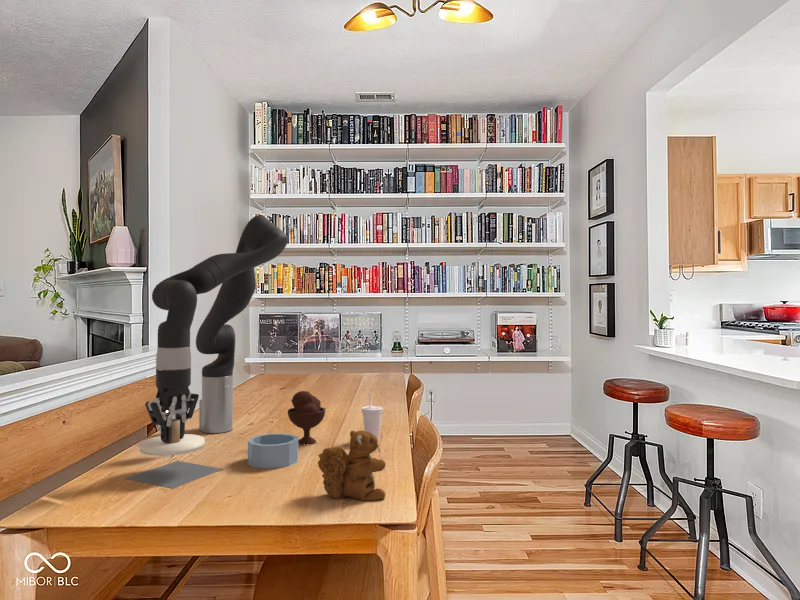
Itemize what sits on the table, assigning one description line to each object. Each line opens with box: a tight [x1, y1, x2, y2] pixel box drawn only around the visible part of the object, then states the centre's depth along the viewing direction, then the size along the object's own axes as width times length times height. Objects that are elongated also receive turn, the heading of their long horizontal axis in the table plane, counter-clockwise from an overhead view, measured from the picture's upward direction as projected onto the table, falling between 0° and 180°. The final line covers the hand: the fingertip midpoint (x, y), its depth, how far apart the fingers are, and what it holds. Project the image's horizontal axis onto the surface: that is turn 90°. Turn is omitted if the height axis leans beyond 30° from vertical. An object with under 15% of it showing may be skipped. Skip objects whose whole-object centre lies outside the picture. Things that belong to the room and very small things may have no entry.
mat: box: [124, 460, 224, 489], centre depth 126 cm, size 15×15×1 cm
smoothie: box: [361, 392, 384, 442], centre depth 158 cm, size 6×6×14 cm
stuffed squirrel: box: [317, 430, 386, 501], centre depth 115 cm, size 10×14×13 cm
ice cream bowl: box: [287, 390, 327, 446], centre depth 156 cm, size 11×11×15 cm
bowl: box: [247, 432, 299, 470], centre depth 136 cm, size 12×12×6 cm
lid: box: [138, 419, 206, 457], centre depth 126 cm, size 14×14×6 cm
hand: (172, 440), depth 126 cm, fingers closed on lid, 3 cm apart
